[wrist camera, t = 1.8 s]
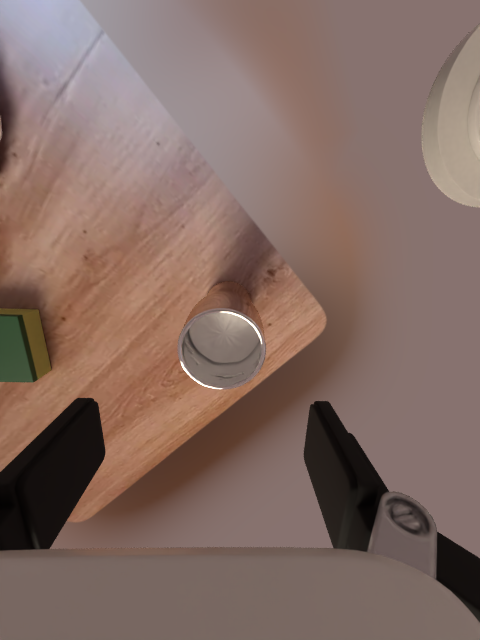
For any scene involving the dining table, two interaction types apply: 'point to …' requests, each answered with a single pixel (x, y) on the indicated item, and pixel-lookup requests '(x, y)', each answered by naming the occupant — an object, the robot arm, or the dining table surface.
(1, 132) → the plate
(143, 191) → the dining table surface
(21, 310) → the sponge
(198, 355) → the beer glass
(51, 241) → the dining table surface
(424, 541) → the robot arm
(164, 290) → the dining table surface
